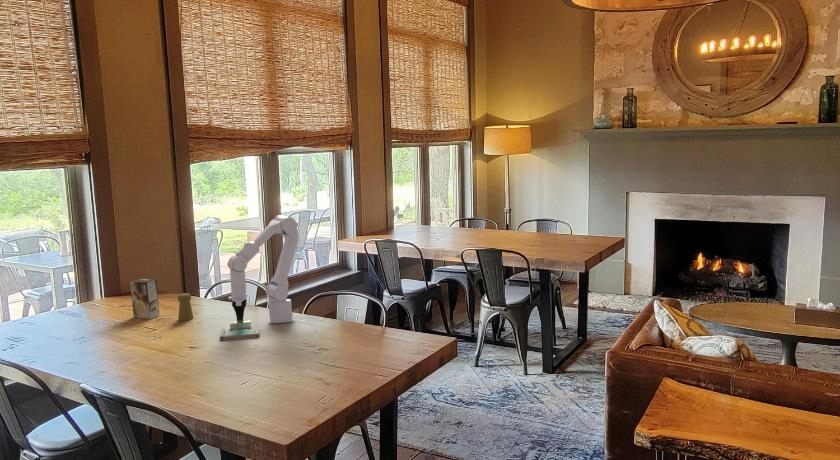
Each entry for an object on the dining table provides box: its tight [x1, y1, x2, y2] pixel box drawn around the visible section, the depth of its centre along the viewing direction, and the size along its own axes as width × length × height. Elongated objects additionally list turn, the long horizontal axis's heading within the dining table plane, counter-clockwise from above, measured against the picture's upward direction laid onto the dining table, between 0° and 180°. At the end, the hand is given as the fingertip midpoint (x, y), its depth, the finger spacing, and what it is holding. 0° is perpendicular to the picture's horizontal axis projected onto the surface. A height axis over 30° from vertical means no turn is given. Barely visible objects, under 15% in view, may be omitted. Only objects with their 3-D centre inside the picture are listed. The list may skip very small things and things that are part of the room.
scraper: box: [229, 319, 252, 331], centre depth 255 cm, size 8×2×8 cm, turn 104°
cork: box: [177, 292, 194, 322], centre depth 268 cm, size 6×6×11 cm
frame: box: [219, 325, 260, 342], centre depth 247 cm, size 14×10×2 cm
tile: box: [231, 328, 250, 335], centre depth 248 cm, size 6×6×2 cm
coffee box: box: [130, 278, 160, 320], centre depth 273 cm, size 9×6×16 cm
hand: (240, 318), depth 255 cm, fingers closed on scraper, 2 cm apart
